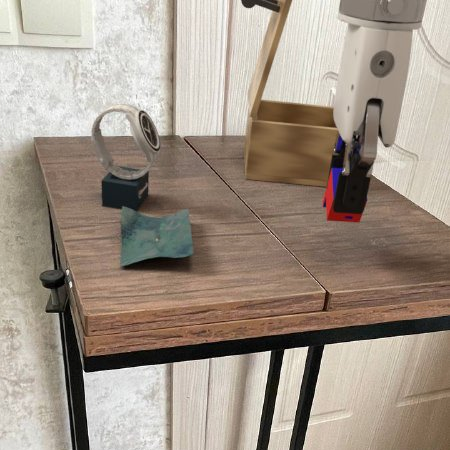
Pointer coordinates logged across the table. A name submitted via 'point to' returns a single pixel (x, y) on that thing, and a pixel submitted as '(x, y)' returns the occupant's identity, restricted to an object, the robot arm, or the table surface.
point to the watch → (122, 176)
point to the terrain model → (154, 236)
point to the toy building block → (329, 200)
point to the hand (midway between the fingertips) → (344, 200)
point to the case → (290, 143)
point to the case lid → (266, 48)
